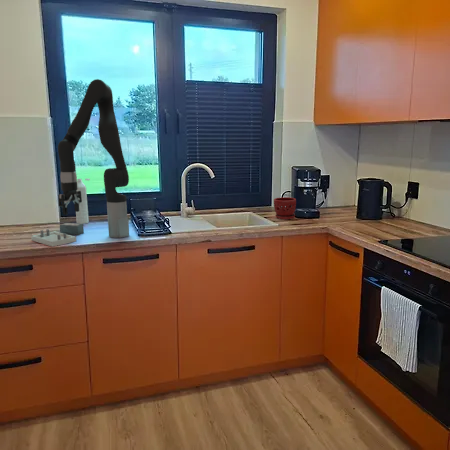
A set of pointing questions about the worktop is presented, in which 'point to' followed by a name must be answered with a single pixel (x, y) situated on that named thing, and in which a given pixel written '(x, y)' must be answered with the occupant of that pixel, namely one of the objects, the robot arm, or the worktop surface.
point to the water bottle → (82, 203)
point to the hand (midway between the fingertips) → (71, 213)
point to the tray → (53, 238)
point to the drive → (71, 229)
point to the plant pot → (280, 207)
